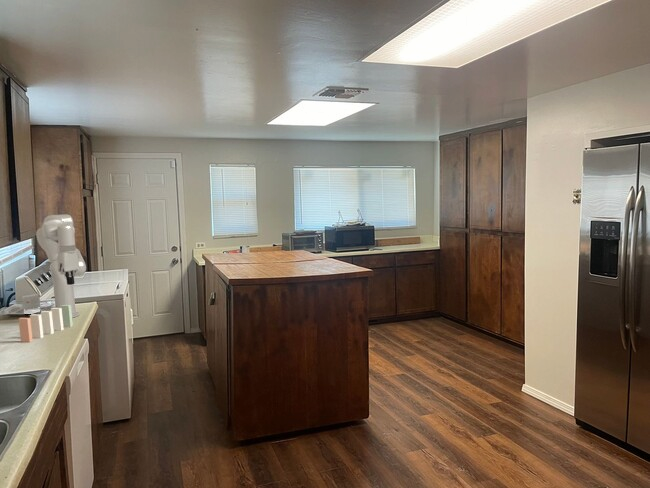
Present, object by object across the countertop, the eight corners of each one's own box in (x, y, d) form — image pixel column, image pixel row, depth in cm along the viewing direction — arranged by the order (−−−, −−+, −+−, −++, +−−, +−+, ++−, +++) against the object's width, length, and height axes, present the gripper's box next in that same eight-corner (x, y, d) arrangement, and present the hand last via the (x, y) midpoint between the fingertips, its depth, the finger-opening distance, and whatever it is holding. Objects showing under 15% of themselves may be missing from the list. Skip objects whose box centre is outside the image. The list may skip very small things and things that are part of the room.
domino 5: (64, 325, 248) (62, 304, 247) (72, 326, 247) (70, 305, 246) (62, 326, 247) (60, 305, 245) (70, 327, 245) (68, 305, 244)
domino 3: (45, 332, 236) (43, 310, 235) (53, 333, 235) (51, 311, 234) (42, 333, 235) (40, 311, 234) (51, 334, 233) (48, 312, 232)
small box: (38, 311, 283) (36, 293, 282) (41, 312, 279) (39, 294, 278) (22, 314, 277) (20, 296, 276) (25, 315, 273) (23, 297, 272)
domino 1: (23, 340, 224) (21, 317, 223) (32, 341, 223) (30, 318, 222) (21, 341, 223) (18, 318, 222) (29, 342, 222) (27, 318, 220)
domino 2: (34, 336, 230) (32, 314, 229) (43, 337, 229) (41, 314, 228) (32, 337, 229) (29, 315, 228) (40, 338, 228) (38, 315, 226)
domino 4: (55, 329, 242) (53, 307, 241) (63, 329, 241) (61, 308, 240) (52, 330, 241) (50, 308, 239) (61, 330, 239) (59, 308, 238)
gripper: (72, 247, 255) (75, 281, 257) (49, 251, 241) (53, 287, 243) (84, 247, 253) (87, 281, 255) (62, 251, 239) (65, 287, 241)
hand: (70, 284), depth 249 cm, fingers closed
